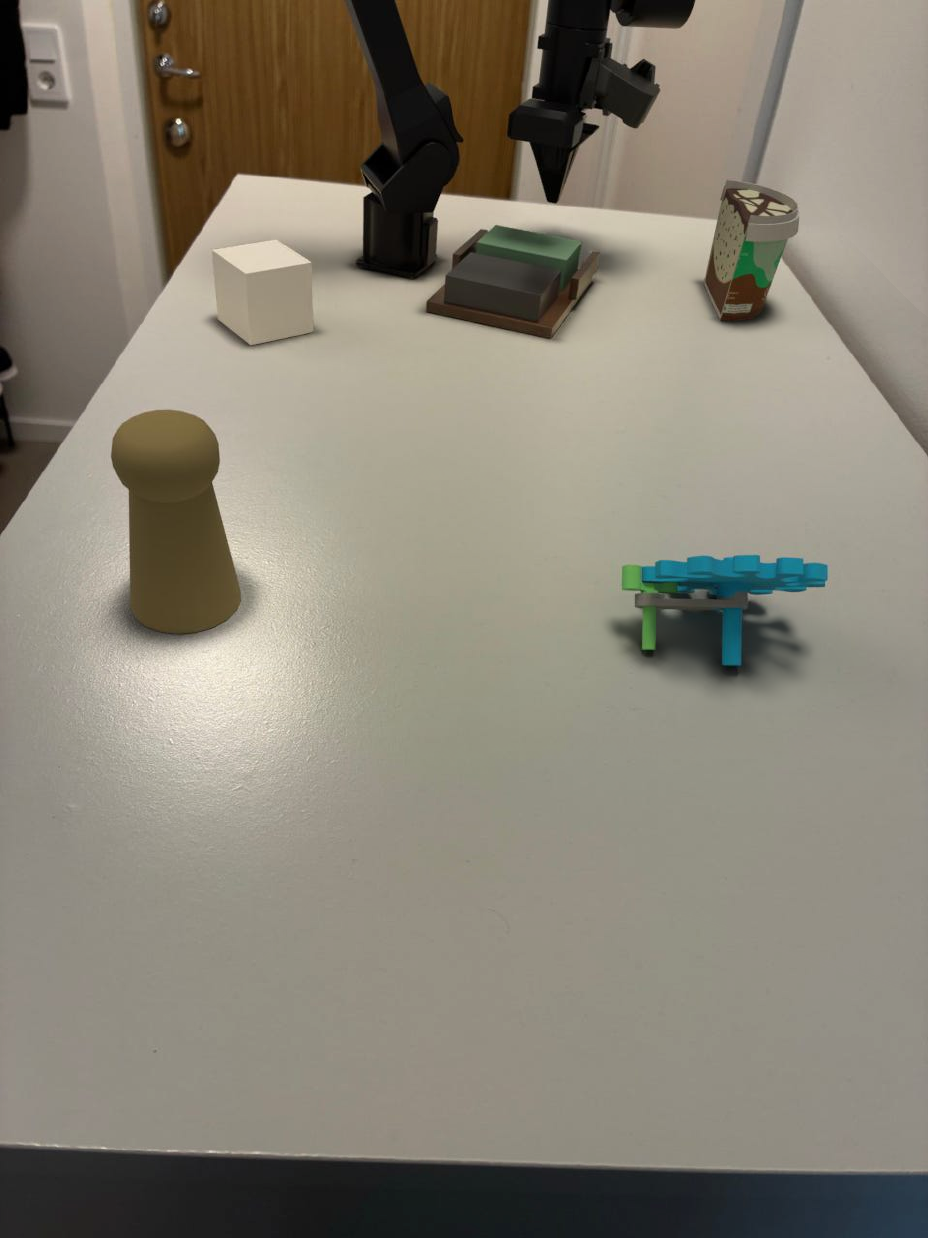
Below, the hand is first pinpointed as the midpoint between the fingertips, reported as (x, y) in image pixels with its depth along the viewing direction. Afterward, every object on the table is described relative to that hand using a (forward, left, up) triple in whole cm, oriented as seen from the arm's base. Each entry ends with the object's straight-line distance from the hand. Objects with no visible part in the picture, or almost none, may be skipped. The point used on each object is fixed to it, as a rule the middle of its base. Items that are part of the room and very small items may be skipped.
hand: (552, 201), depth 97 cm
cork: (-3, -65, -6) cm, 65 cm away
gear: (+25, -55, -6) cm, 61 cm away
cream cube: (-17, -30, -6) cm, 35 cm away
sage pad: (0, -8, -5) cm, 9 cm away
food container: (+21, -2, -6) cm, 22 cm away
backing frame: (0, -12, -6) cm, 13 cm away
